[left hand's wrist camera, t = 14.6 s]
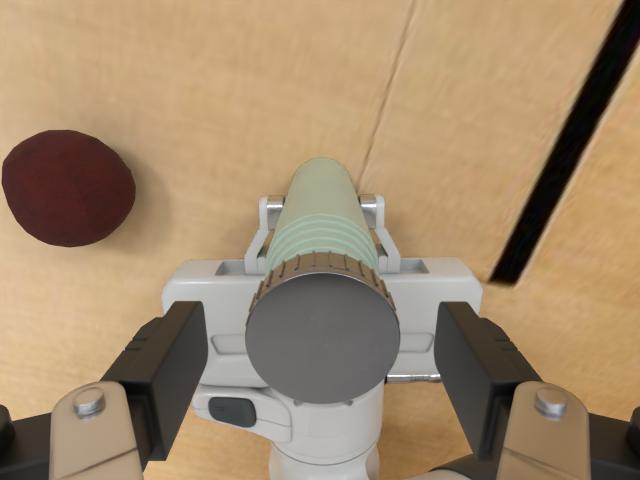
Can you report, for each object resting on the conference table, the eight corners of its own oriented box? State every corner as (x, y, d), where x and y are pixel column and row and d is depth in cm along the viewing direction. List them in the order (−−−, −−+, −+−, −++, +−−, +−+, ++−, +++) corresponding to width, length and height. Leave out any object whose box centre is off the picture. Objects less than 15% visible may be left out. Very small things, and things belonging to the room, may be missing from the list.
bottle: (310, 146, 29) (291, 232, 10) (363, 177, 30) (433, 310, 11) (280, 198, 30) (217, 358, 12) (332, 227, 31) (348, 419, 13)
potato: (78, 235, 31) (12, 273, 24) (31, 138, 28) (-56, 151, 22) (165, 215, 30) (122, 247, 24) (125, 113, 28) (64, 119, 21)
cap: (295, 222, 11) (291, 240, 10) (421, 292, 12) (435, 318, 11) (227, 336, 13) (216, 366, 11) (345, 393, 14) (348, 427, 12)
